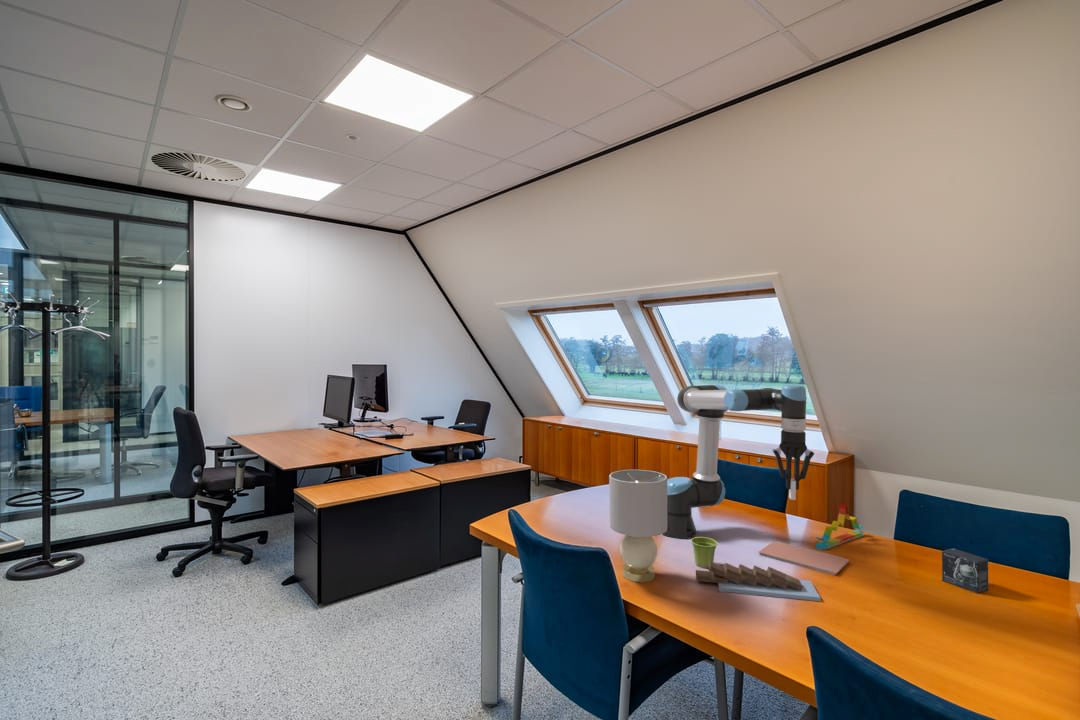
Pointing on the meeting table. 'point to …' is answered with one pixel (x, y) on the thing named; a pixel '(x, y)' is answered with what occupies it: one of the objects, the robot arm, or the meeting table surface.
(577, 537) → the meeting table surface
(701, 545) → the plant pot
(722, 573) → the domino
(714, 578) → the domino
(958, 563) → the box
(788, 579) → the domino
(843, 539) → the toy brick structure
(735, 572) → the domino
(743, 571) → the domino
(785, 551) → the notebook
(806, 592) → the strip board
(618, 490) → the lamp
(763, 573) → the domino
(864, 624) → the meeting table surface
